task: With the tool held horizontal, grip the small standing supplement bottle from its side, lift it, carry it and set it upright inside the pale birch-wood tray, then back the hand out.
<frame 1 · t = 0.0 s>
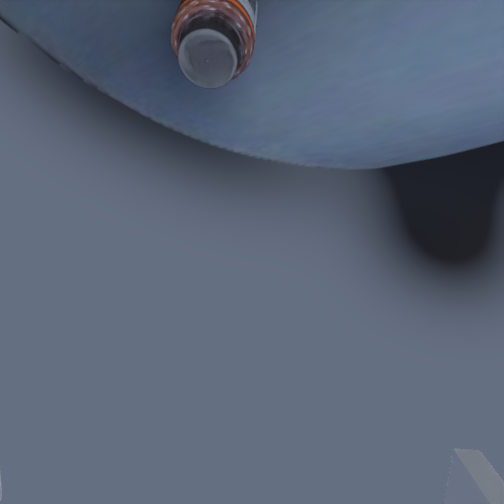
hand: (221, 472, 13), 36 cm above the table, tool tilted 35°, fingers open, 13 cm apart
supplement bottle: (223, 0, 36), on the table
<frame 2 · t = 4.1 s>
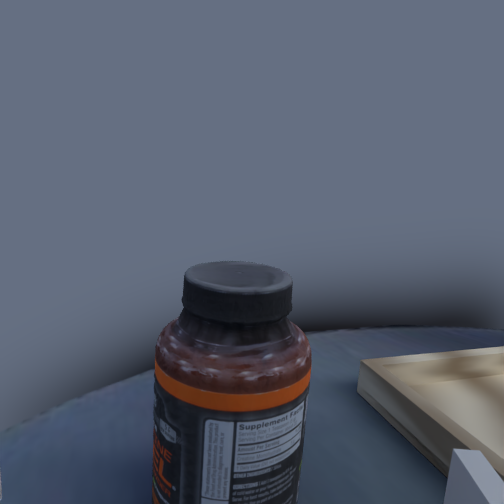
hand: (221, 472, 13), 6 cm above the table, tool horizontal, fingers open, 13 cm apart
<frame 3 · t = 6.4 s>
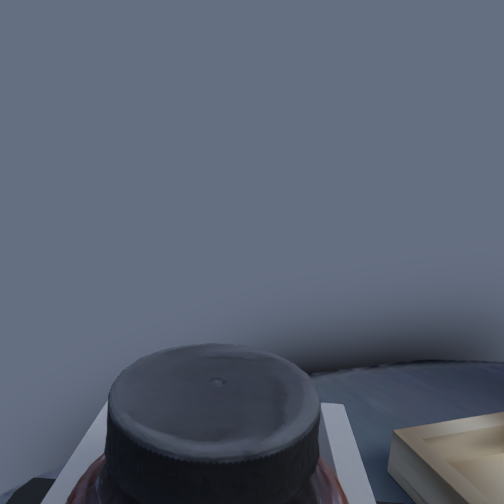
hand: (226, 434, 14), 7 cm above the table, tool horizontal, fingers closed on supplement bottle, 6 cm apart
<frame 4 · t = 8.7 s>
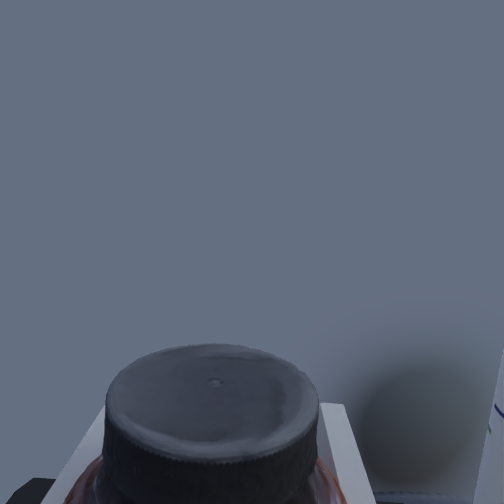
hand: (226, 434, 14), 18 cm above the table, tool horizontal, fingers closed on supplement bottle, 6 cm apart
when the fingers open (9 cm above the table, at t = 11.4 s): supplement bottle drops 1 cm, resting on tray.
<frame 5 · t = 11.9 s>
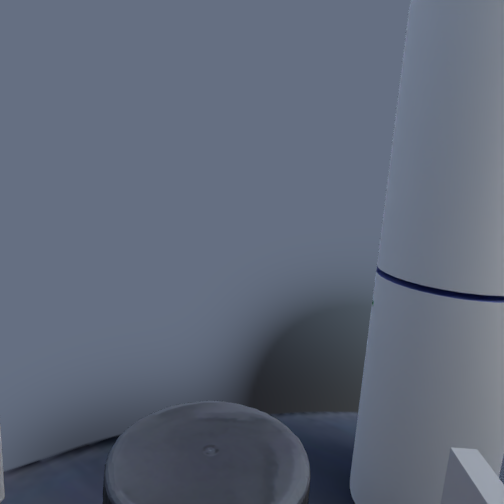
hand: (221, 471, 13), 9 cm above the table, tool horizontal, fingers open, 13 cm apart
cylindrical container: (414, 501, 24), on the table
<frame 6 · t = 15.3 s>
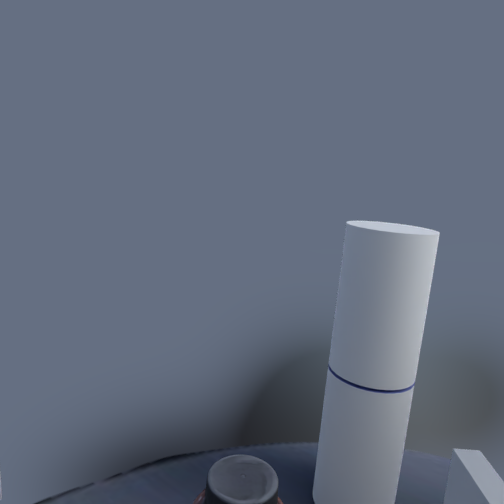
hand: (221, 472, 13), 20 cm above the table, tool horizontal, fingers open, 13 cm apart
cylindrical container: (351, 501, 39), on the table
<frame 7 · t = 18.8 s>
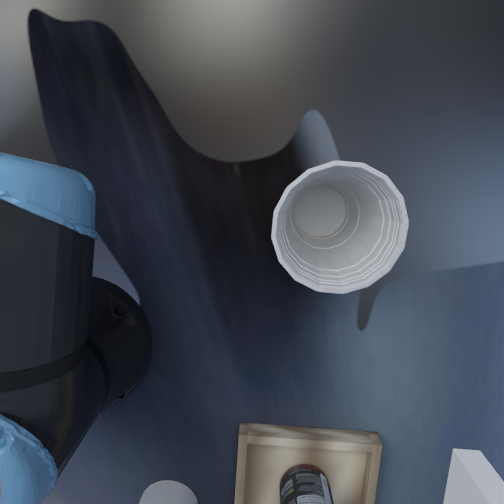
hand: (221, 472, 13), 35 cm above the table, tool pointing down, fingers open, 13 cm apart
tray: (303, 479, 52), on the table
plastic cup: (320, 213, 46), on the table
supplement bottle: (304, 482, 52), resting on tray
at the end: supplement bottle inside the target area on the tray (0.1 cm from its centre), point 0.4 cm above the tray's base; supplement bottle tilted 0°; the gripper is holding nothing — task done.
